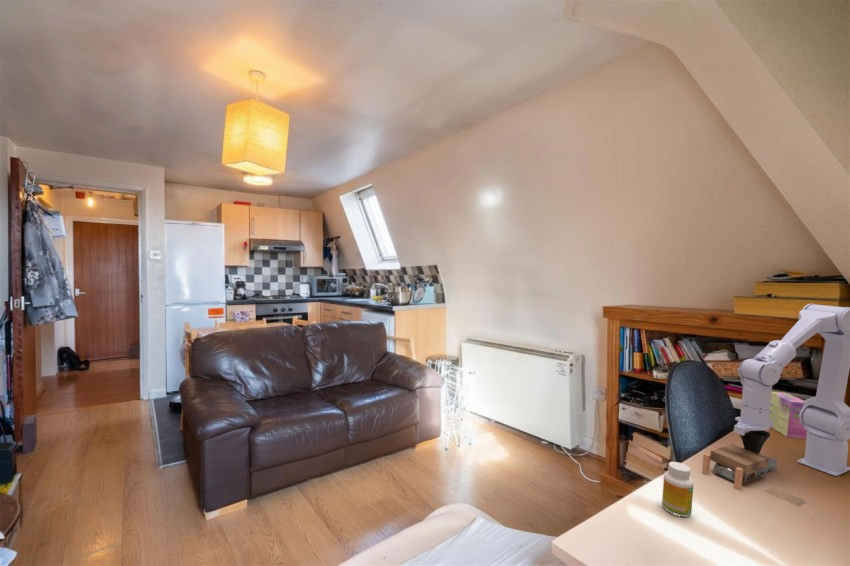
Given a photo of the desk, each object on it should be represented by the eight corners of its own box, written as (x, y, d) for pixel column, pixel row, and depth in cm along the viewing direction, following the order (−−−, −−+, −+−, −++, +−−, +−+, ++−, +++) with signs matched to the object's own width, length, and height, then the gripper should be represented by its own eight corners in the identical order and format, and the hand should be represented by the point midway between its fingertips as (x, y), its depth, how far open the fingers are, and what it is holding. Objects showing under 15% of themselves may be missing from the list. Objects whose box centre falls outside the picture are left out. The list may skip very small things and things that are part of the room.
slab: (731, 452, 106) (732, 444, 106) (768, 467, 99) (768, 458, 99) (710, 459, 102) (710, 450, 102) (746, 475, 95) (747, 465, 95)
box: (807, 439, 125) (811, 403, 124) (786, 437, 126) (790, 401, 125) (784, 426, 135) (787, 392, 134) (765, 424, 136) (768, 391, 135)
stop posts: (704, 472, 102) (706, 453, 102) (741, 489, 94) (743, 469, 94) (702, 473, 101) (703, 454, 101) (738, 490, 94) (740, 470, 94)
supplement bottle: (691, 521, 82) (695, 475, 81) (661, 511, 84) (664, 467, 84) (690, 508, 86) (694, 464, 86) (662, 499, 89) (665, 457, 89)
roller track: (752, 460, 109) (753, 449, 109) (830, 492, 95) (832, 479, 95) (712, 474, 101) (713, 462, 101) (791, 510, 87) (792, 496, 86)
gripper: (752, 397, 109) (748, 445, 110) (722, 404, 103) (718, 454, 104) (784, 406, 103) (779, 457, 104) (754, 414, 97) (749, 468, 97)
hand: (751, 457), depth 103 cm, fingers closed
